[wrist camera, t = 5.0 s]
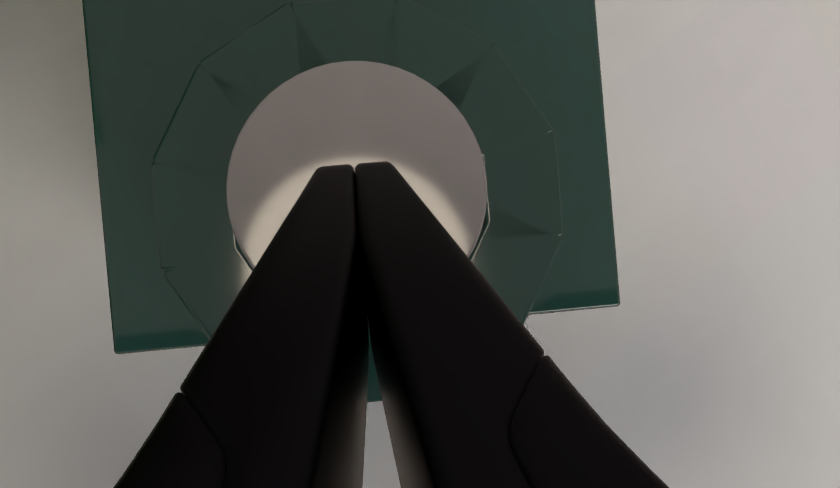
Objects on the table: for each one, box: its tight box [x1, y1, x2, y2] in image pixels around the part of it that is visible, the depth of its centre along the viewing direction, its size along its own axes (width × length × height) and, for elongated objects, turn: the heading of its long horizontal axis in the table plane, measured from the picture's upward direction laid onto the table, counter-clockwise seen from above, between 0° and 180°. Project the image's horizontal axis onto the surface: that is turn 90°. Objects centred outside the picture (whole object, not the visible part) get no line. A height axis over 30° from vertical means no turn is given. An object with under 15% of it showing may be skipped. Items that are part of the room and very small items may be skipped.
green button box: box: [82, 0, 620, 402], centre depth 14 cm, size 11×9×8 cm
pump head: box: [226, 61, 488, 316], centre depth 9 cm, size 3×3×2 cm
